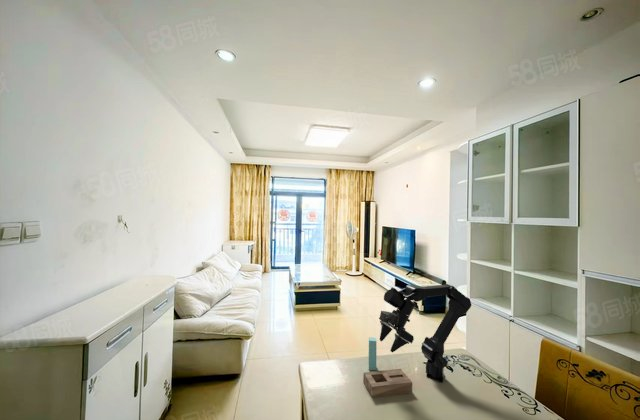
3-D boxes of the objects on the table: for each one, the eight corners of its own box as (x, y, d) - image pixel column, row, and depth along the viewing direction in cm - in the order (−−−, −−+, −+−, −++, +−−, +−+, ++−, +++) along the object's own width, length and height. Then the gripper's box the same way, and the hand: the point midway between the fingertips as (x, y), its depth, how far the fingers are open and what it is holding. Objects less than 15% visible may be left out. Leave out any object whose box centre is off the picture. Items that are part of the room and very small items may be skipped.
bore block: (412, 392, 96) (412, 382, 96) (371, 397, 93) (372, 386, 93) (400, 378, 105) (400, 368, 105) (363, 382, 101) (363, 372, 102)
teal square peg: (375, 366, 113) (376, 337, 114) (376, 370, 110) (376, 341, 110) (368, 365, 114) (368, 337, 114) (368, 369, 110) (368, 340, 111)
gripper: (378, 297, 112) (361, 327, 110) (400, 311, 94) (381, 348, 92) (396, 308, 114) (380, 339, 112) (422, 325, 96) (403, 361, 93)
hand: (385, 346), depth 102 cm, fingers open, 9 cm apart
